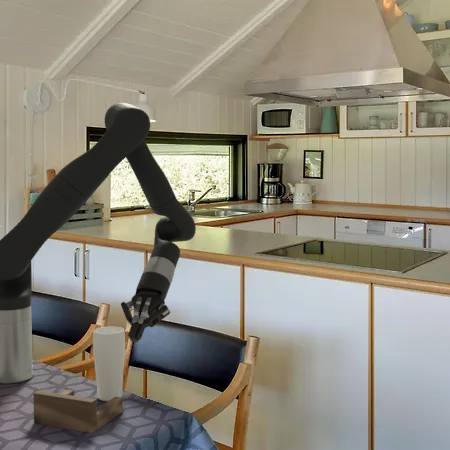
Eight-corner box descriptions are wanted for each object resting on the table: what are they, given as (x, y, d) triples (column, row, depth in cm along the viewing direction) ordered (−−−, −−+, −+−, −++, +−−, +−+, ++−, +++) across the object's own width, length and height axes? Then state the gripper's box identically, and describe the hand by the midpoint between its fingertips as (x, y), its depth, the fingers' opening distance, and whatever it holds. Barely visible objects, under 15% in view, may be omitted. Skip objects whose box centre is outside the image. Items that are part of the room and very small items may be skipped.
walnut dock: (67, 403, 129) (67, 375, 129) (122, 411, 125) (122, 383, 124) (34, 423, 119) (33, 393, 118) (92, 433, 114) (91, 402, 114)
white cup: (101, 405, 128) (100, 335, 127) (89, 396, 133) (88, 328, 132) (130, 399, 132) (130, 331, 130) (118, 390, 137) (117, 324, 136)
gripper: (127, 269, 151) (102, 329, 141) (175, 271, 147) (153, 334, 136) (138, 286, 157) (114, 345, 146) (185, 289, 152) (164, 351, 142)
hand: (133, 340), depth 141 cm, fingers closed
